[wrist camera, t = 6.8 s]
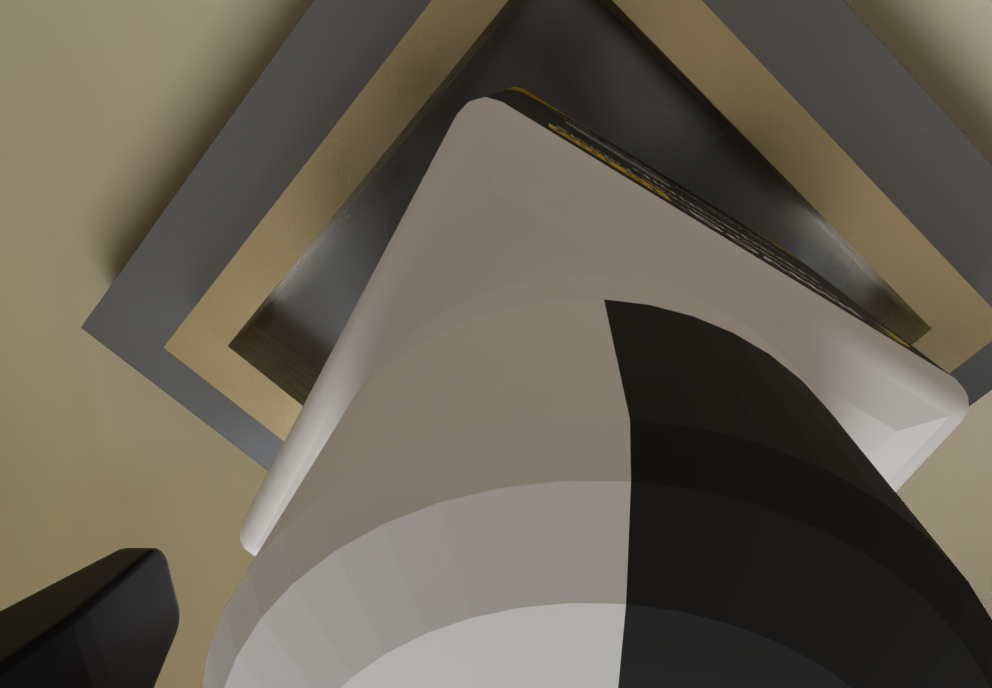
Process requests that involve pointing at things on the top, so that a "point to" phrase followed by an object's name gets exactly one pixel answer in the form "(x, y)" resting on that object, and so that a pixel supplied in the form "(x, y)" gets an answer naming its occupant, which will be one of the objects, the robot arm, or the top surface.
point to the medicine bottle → (599, 454)
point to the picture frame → (591, 102)
